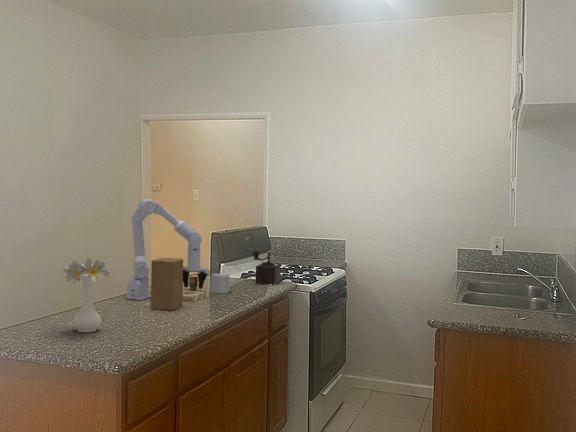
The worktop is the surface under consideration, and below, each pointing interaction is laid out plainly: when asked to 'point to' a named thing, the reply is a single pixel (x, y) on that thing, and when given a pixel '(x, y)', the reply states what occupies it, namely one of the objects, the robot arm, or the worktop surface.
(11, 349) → the worktop surface
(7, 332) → the worktop surface
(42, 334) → the worktop surface
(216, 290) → the medicine box
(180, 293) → the wooden block
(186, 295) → the board
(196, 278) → the peg
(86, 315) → the flower vase
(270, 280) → the coffee grinder
